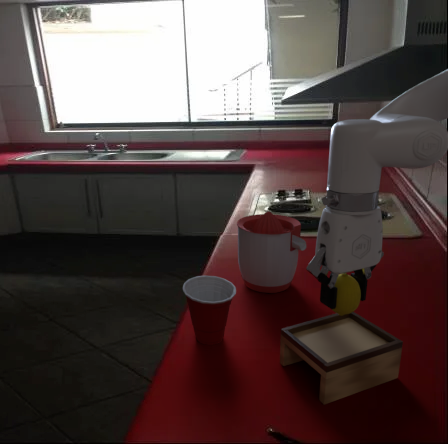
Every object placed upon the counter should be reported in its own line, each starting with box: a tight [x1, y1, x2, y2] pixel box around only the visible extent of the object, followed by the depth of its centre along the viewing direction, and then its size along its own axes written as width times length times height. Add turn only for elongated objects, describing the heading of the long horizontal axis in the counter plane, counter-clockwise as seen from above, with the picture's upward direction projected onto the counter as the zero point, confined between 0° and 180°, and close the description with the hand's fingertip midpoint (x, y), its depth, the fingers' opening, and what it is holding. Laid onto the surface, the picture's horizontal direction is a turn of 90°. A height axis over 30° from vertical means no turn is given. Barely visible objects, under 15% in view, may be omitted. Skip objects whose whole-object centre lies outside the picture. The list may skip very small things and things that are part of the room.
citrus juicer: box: [236, 210, 307, 294], centre depth 106 cm, size 16×17×20 cm
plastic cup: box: [182, 275, 237, 346], centre depth 86 cm, size 11×11×12 cm
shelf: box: [279, 311, 404, 405], centre depth 75 cm, size 16×12×7 cm
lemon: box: [330, 273, 361, 316], centre depth 71 cm, size 6×6×8 cm
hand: (342, 300), depth 72 cm, fingers closed on lemon, 5 cm apart
